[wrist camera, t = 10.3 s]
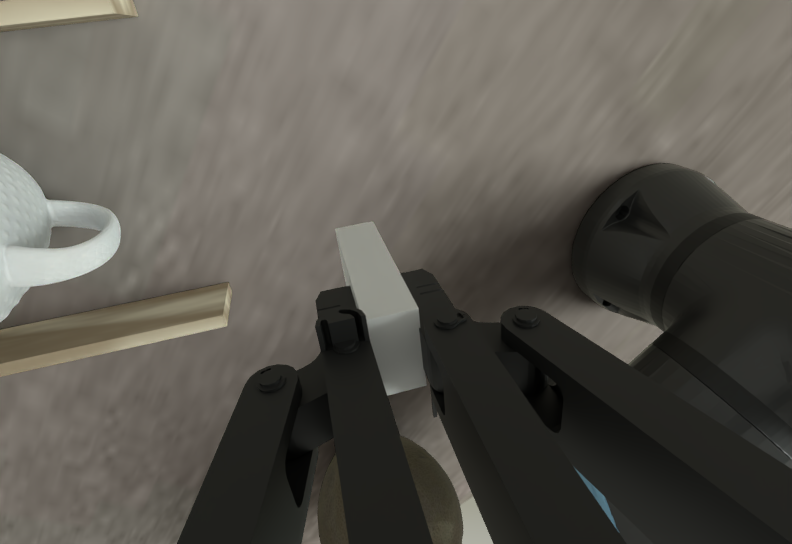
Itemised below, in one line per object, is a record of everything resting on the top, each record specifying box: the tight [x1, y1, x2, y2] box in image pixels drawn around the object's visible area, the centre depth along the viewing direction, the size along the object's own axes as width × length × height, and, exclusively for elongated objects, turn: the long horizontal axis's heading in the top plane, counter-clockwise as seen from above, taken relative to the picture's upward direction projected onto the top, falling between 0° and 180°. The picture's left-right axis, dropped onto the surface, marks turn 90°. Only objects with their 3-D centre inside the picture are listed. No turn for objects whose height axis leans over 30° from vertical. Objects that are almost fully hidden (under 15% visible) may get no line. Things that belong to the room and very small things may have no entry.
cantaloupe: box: [318, 436, 463, 544], centre depth 44 cm, size 14×14×15 cm
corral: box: [0, 0, 232, 377], centre depth 28 cm, size 21×20×5 cm
